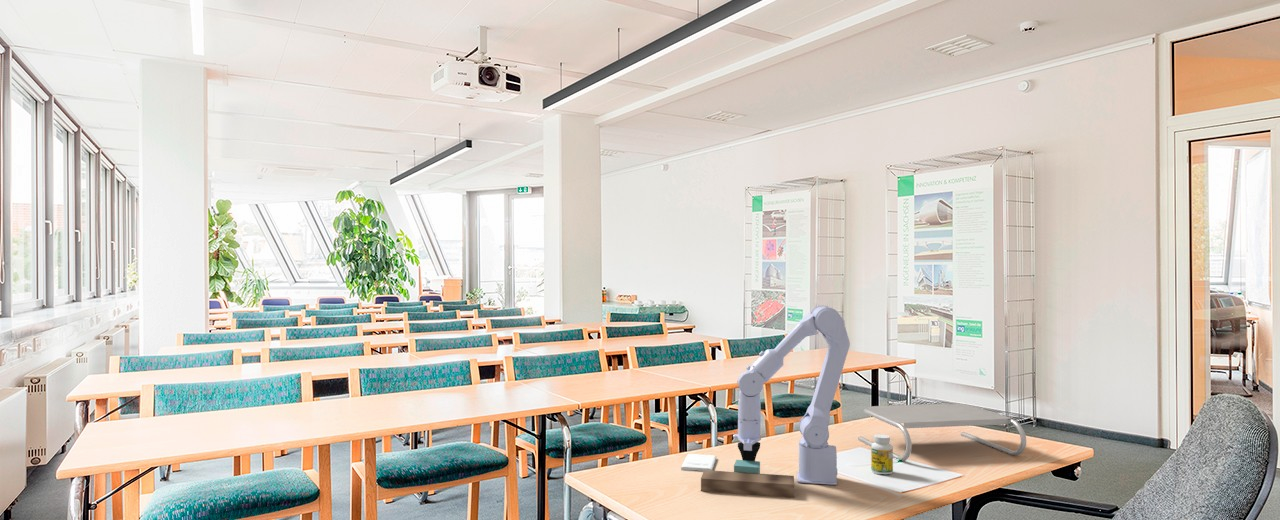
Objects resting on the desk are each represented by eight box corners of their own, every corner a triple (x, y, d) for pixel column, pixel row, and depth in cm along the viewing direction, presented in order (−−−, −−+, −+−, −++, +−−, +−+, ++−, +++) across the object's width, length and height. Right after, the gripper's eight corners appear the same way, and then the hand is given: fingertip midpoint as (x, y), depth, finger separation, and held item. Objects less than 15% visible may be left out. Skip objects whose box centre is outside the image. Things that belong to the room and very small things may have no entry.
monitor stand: (964, 436, 226) (964, 402, 226) (1027, 460, 199) (1027, 422, 199) (857, 441, 220) (857, 406, 219) (907, 467, 192) (907, 427, 192)
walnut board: (793, 488, 173) (793, 475, 173) (794, 497, 166) (794, 484, 166) (703, 482, 177) (704, 470, 177) (700, 490, 170) (700, 478, 170)
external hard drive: (716, 461, 198) (711, 474, 185) (687, 459, 199) (680, 472, 187) (716, 455, 198) (711, 468, 185) (687, 453, 199) (680, 466, 187)
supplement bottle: (896, 472, 186) (896, 436, 186) (886, 477, 182) (887, 439, 182) (877, 468, 190) (877, 432, 190) (867, 472, 186) (867, 436, 186)
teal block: (760, 479, 179) (760, 461, 179) (758, 485, 174) (758, 467, 174) (736, 477, 181) (736, 459, 181) (733, 483, 176) (734, 465, 176)
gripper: (735, 411, 189) (734, 462, 189) (731, 424, 175) (730, 478, 175) (762, 413, 188) (761, 464, 188) (760, 425, 173) (759, 481, 173)
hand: (748, 471), depth 181 cm, fingers closed
